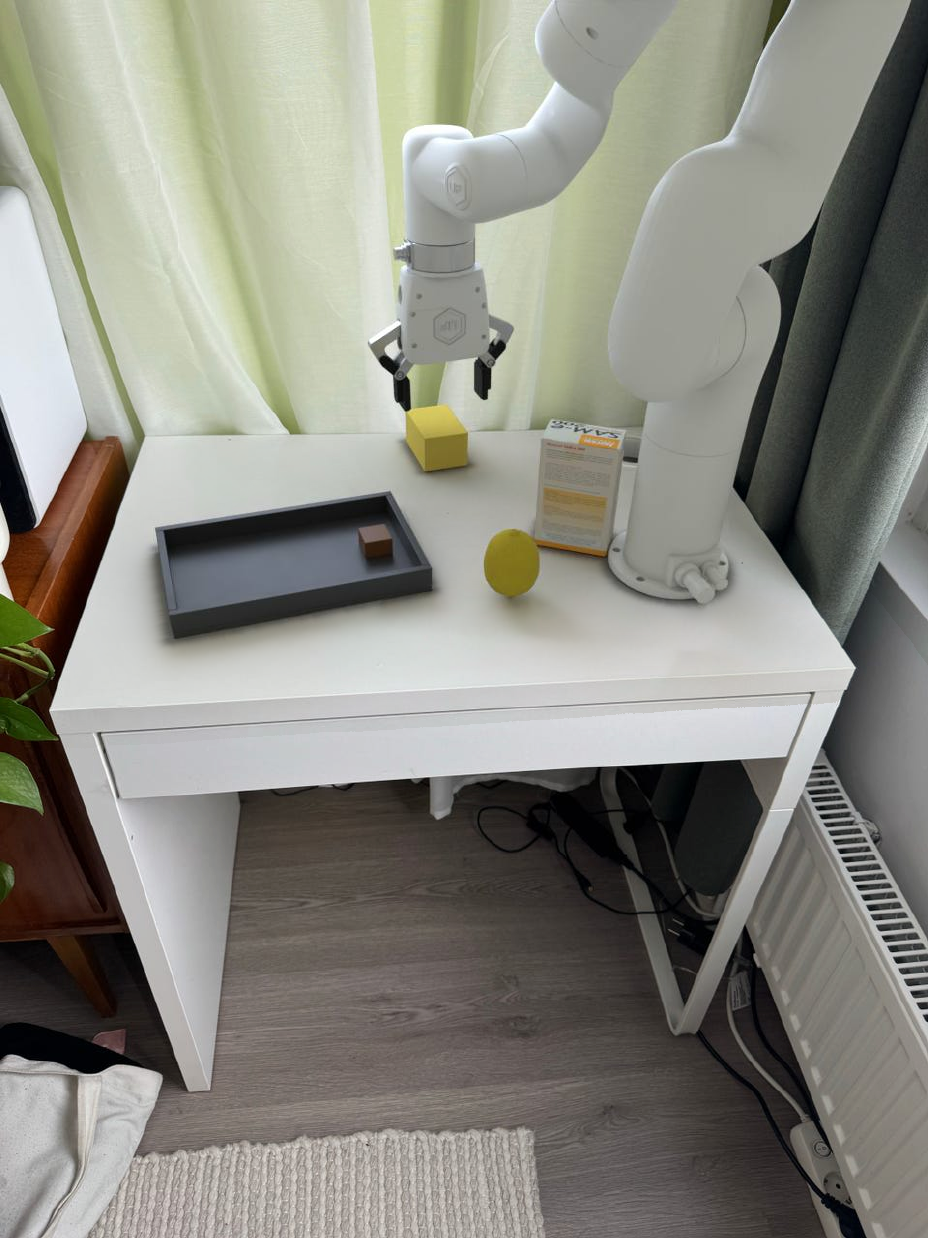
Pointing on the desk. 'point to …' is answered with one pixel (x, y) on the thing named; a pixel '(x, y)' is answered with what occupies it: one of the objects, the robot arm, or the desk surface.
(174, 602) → the pan
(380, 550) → the brown block
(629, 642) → the desk surface
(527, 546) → the lemon
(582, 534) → the supplement box
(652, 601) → the desk surface
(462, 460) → the sponge
